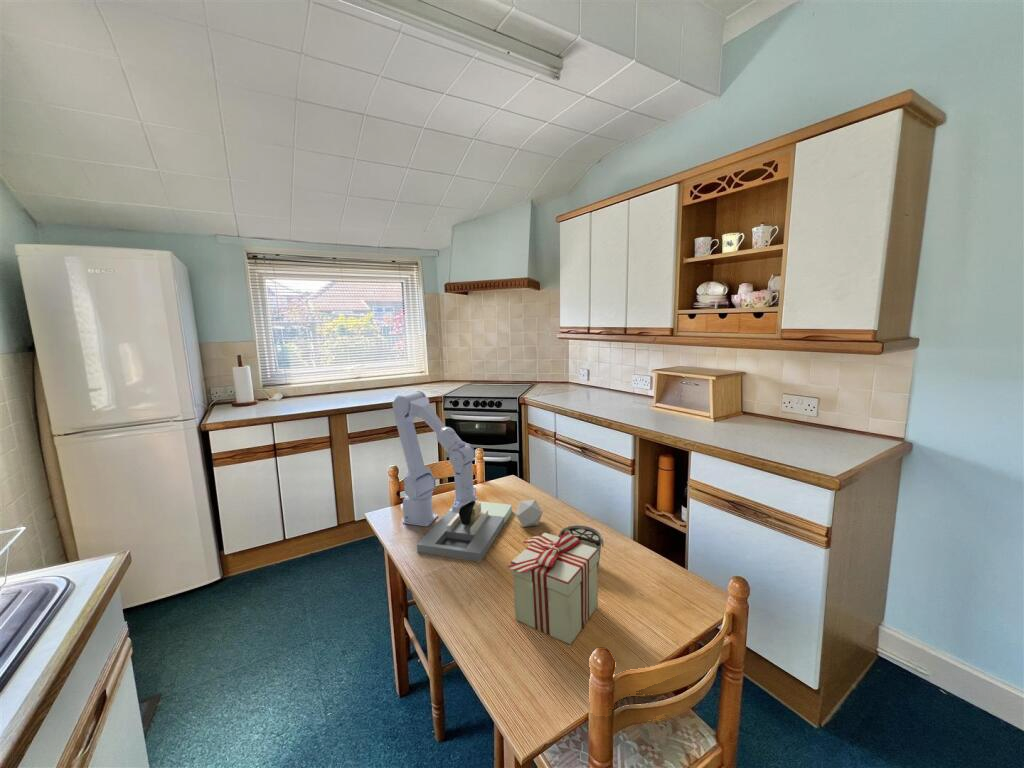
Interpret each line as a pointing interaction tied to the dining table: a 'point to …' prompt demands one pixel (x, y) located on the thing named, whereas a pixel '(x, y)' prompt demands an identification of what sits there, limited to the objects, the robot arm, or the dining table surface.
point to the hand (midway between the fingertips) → (466, 523)
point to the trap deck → (465, 533)
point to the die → (529, 513)
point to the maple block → (475, 512)
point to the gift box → (555, 585)
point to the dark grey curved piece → (585, 536)
